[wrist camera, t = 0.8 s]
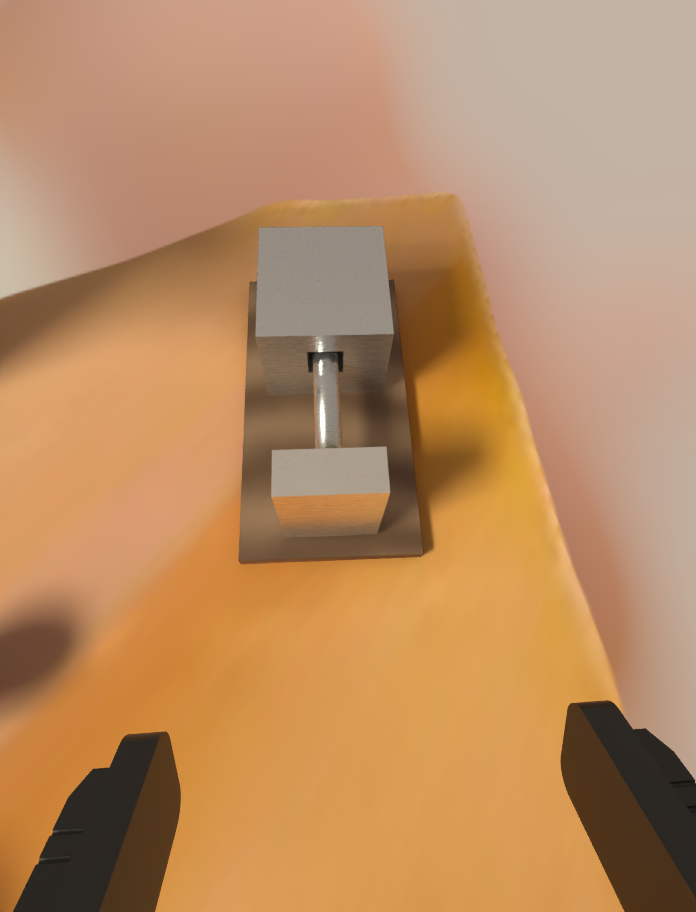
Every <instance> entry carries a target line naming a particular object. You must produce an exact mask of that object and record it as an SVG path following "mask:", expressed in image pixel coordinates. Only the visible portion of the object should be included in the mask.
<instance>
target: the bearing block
mask: <svg viewBox="0 0 696 912" xmlns="http://www.w3.org/2000/svg"><path fill="white" fill-rule="evenodd" d="M393 336H394V330H393V320H392V311H391V301H390V291H389V281H388V272H387V262H386V252H385V242H384V233H383V226H358V227H259V241H258V272H257V303H256V334H255V337H256V342H257V346H258V351H259V355H260V360H261V364H262V369H263V373H264V377H265V382H266V386H267V391H268V395H299V394H314V392H313V352H337V351H338V366H339V387H340V393H378V392H383V391H384V385H385V380H386V374H387V369H388V363H389V358H390V353H391V347H392V342H393Z"/></svg>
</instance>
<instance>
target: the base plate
mask: <svg viewBox="0 0 696 912" xmlns="http://www.w3.org/2000/svg"><path fill="white" fill-rule="evenodd" d="M388 281H389V291H390V301H391V311H392V320H393V330H394V336H393V342H392V347H391V353H390V358H389V363H388V369H387V374H386V380H385V385H384V391H383V392H378V393H340V408H341V429H342V448H357V447H386V448H387V460H388V471H389V483H390V495H389V498H388V501H387V505H386V508H385V511H384V514H383V517H382V520H381V523H380V526H379V529H378V532H377V534H371V535H345V536H320V537H294V538H285V537H284V534H283V531H282V528H281V525H280V522H279V519H278V516H277V513H276V510H275V507H274V504H273V501H272V498H271V478H272V450H291V449H315V436H314V394H299V395H268V391H267V386H266V382H265V377H264V373H263V369H262V364H261V360H260V355H259V351H258V346H257V342H256V337H255V334H256V303H257V282H250V288H249V314H248V339H247V364H246V389H245V414H244V439H243V464H242V489H241V515H240V540H239V562H240V563H241V564H257V563H282V562H306V561H331V560H355V559H380V558H404V557H421V556H422V555H423V546H422V536H421V527H420V518H419V509H418V499H417V490H416V481H415V472H414V463H413V453H412V444H411V435H410V426H409V416H408V407H407V398H406V389H405V379H404V370H403V361H402V352H401V342H400V333H399V324H398V315H397V305H396V296H395V287H394V280H388Z"/></svg>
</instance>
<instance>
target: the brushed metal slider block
mask: <svg viewBox="0 0 696 912" xmlns="http://www.w3.org/2000/svg"><path fill="white" fill-rule="evenodd" d="M313 392H314V436H315V449H291V450H272V478H271V498H272V501H273V504H274V507H275V510H276V513H277V516H278V519H279V522H280V525H281V528H282V531H283V534H284V537H285V538H294V537H320V536H345V535H371V534H377V532H378V529H379V526H380V523H381V520H382V517H383V514H384V511H385V508H386V505H387V501H388V498H389V495H390V483H389V471H388V460H387V448H386V447H357V448H342V429H341V408H340V387H339V366H338V351H337V352H313Z"/></svg>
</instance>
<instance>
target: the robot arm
mask: <svg viewBox="0 0 696 912" xmlns="http://www.w3.org/2000/svg"><path fill="white" fill-rule="evenodd" d="M561 770H562V776H563V780H564V784H565V787H566V790H567V792H568V795H569V797H570V799H571V801H572V803H573V805H574V807H575V809H576V811H577V814H578V816H579V818H580V820H581V822H582V824H583V826H584V828H585V830H586V832H587V834H588V836H589V838H590V841H591V843H592V845H593V847H594V849H595V851H596V853H597V855H598V857H599V859H600V861H601V863H602V866H603V868H604V870H605V872H606V874H607V876H608V878H609V880H610V882H611V884H612V886H613V888H614V890H615V893H616V895H617V897H618V899H619V901H620V903H621V905H622V907H623V909H624V911H625V912H696V783H695V779H694V778H693V777H692V775H691V774H690V773H689V771H688V770H687V769H686V767H685V766H684V765H683V763H682V762H681V761H680V759H679V758H678V757H677V755H676V754H675V753H674V751H672V750H671V749H670V748H669V747H667V746H666V745H665V744H664V743H663V742H661V741H660V740H659V739H658V738H656V737H655V736H654V735H653V734H651V733H650V732H649V731H648V730H647V729H634V730H633V729H632V727H631V726H630V725H629V723H628V722H627V720H626V719H625V717H624V716H623V714H622V713H621V712H620V710H619V709H618V707H617V706H616V705H615V704H614V703H613V702H611V701H593V702H580V703H571V704H570V705H569V707H568V710H567V717H566V724H565V731H564V738H563V745H562V752H561ZM180 802H181V792H180V784H179V779H178V774H177V769H176V765H175V760H174V755H173V750H172V746H171V741H170V737H169V734H168V733H167V732H154V733H140V734H128V735H126V736H125V737H124V738H123V739H122V741H121V743H120V745H119V747H118V749H117V752H116V754H115V756H114V759H113V761H112V763H111V766H110V768H99V769H93V770H92V771H91V772H90V773H89V774H88V775H87V776H86V778H85V779H84V780H83V781H82V782H81V783H80V784H79V786H78V787H77V788H76V789H75V790H74V791H73V792H72V794H71V795H70V796H69V797H68V799H67V801H66V803H65V805H64V807H63V810H62V812H61V814H60V816H59V818H58V820H57V822H56V824H55V826H54V828H53V834H52V836H49V839H48V841H47V843H46V845H45V847H44V849H43V851H42V853H41V855H40V857H39V858H40V860H39V863H38V865H35V868H34V870H33V872H32V874H31V876H30V878H29V880H28V882H27V884H26V886H25V888H24V890H23V892H22V894H21V897H20V899H19V901H18V903H17V905H16V907H15V909H14V911H13V912H155V909H156V905H157V902H158V898H159V894H160V890H161V886H162V882H163V878H164V875H165V871H166V867H167V863H168V859H169V855H170V851H171V848H172V844H173V840H174V836H175V832H176V828H177V824H178V819H179V813H180Z"/></svg>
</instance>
